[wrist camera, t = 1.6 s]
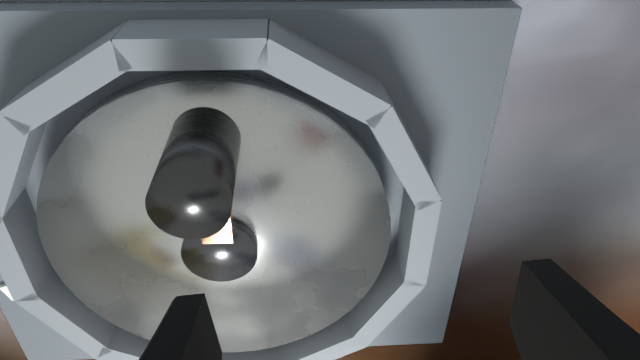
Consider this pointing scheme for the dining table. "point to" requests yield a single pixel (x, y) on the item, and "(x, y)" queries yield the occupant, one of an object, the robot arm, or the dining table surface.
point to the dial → (215, 208)
